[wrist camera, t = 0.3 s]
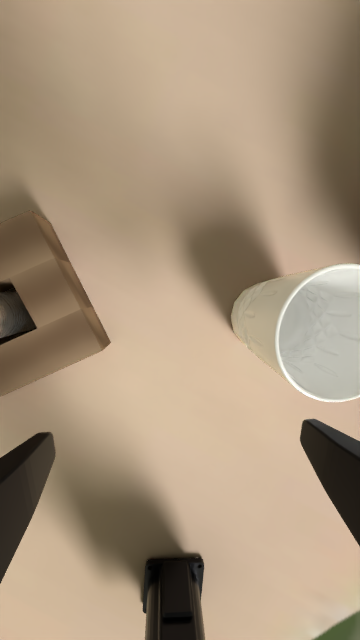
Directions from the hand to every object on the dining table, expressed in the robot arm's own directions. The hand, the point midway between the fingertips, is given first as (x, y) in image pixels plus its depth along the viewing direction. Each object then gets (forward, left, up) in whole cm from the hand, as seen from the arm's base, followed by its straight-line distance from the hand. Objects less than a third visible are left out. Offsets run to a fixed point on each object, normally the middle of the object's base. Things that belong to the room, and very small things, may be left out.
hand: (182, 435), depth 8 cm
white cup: (+3, -9, -14) cm, 17 cm away
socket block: (+2, +14, -14) cm, 20 cm away
